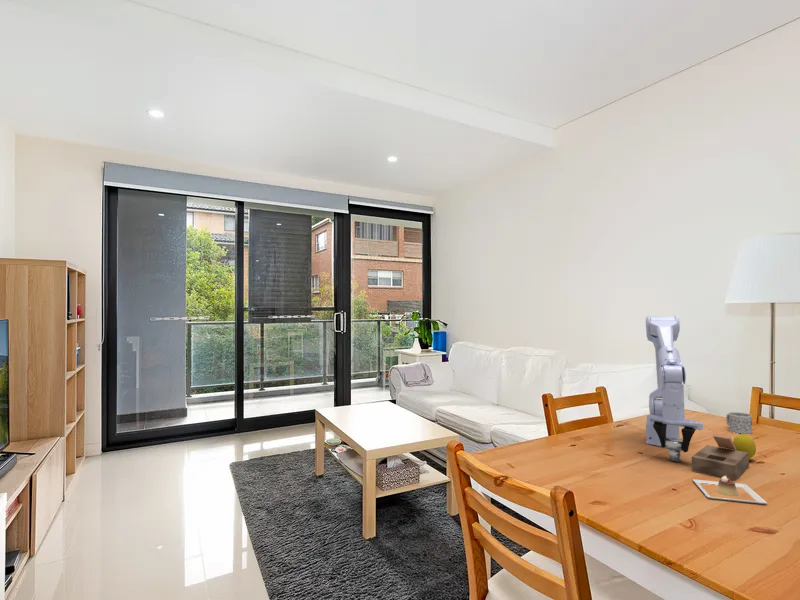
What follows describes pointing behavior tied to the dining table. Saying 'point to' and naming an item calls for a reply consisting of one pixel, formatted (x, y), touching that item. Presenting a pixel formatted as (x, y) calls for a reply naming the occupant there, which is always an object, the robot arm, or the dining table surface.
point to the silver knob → (674, 448)
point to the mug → (739, 422)
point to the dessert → (730, 490)
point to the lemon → (745, 444)
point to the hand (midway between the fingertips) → (674, 449)
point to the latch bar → (724, 441)
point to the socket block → (720, 462)
